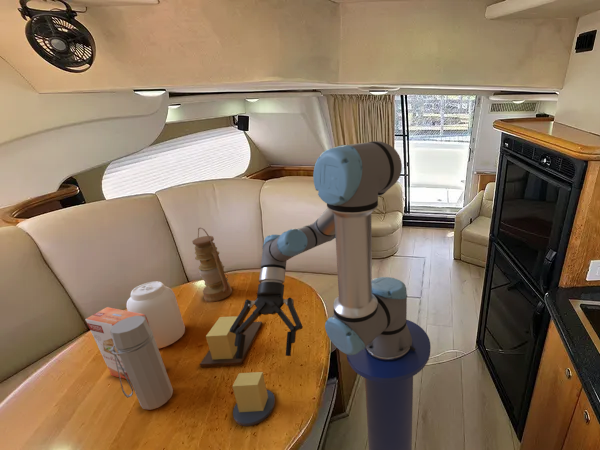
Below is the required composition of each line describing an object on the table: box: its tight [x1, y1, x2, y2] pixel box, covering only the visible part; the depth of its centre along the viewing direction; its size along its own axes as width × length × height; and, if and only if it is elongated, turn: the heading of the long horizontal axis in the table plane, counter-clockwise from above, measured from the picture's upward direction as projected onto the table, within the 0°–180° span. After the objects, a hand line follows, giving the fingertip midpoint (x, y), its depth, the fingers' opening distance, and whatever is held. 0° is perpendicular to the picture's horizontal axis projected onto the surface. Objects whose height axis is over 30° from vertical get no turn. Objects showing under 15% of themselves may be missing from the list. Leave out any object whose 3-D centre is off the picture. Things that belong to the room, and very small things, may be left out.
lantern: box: [191, 227, 233, 303], centre depth 125 cm, size 15×10×30 cm
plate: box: [232, 389, 276, 427], centre depth 82 cm, size 10×10×1 cm
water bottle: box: [110, 316, 174, 411], centre depth 79 cm, size 9×8×25 cm
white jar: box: [126, 280, 186, 350], centre depth 103 cm, size 12×12×20 cm
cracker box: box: [85, 306, 167, 381], centre depth 88 cm, size 14×6×21 cm, turn 76°
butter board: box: [199, 321, 263, 368], centre depth 103 cm, size 12×19×1 cm, turn 4°
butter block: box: [205, 315, 238, 360], centre depth 98 cm, size 6×9×9 cm, turn 4°
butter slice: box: [231, 371, 268, 412], centre depth 80 cm, size 6×4×9 cm, turn 94°
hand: (263, 357), depth 89 cm, fingers open, 13 cm apart
